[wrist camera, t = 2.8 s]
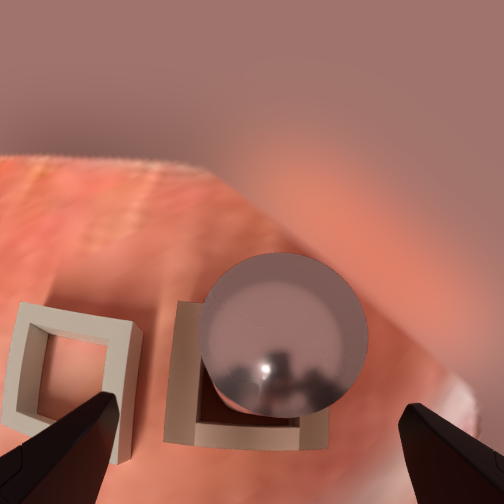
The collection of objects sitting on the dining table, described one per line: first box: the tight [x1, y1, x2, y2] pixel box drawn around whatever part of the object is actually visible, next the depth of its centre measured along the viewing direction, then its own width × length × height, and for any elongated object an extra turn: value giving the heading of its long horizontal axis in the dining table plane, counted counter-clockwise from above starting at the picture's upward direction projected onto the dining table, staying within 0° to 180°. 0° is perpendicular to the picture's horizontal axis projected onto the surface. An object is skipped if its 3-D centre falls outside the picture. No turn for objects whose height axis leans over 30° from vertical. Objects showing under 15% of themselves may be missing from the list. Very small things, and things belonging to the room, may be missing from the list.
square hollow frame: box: [1, 301, 143, 465], centre depth 15 cm, size 8×8×2 cm
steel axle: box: [198, 253, 368, 418], centre depth 12 cm, size 4×4×12 cm
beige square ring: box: [163, 301, 329, 451], centre depth 16 cm, size 8×7×3 cm
